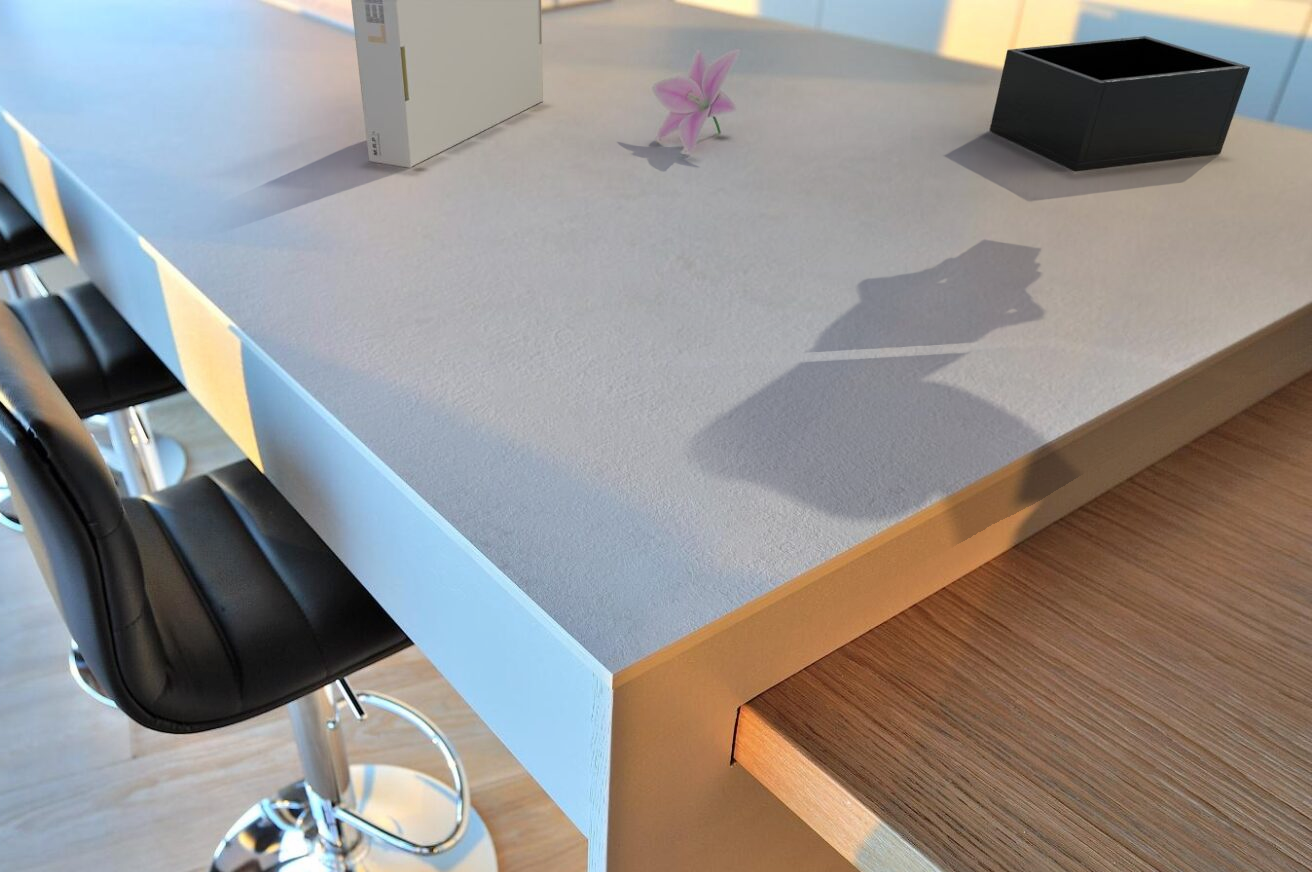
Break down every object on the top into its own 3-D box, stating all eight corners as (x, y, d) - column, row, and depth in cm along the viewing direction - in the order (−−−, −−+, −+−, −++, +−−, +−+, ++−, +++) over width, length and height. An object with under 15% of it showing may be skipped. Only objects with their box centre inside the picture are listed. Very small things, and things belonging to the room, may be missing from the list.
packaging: (504, 96, 145) (498, -73, 133) (543, 101, 142) (541, -71, 131) (367, 161, 124) (346, -33, 113) (411, 168, 122) (393, -30, 110)
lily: (650, 132, 133) (627, 68, 125) (741, 88, 131) (723, 20, 123) (678, 192, 126) (655, 128, 118) (774, 147, 124) (757, 78, 116)
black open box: (1122, 115, 128) (1145, 35, 123) (1220, 153, 116) (1250, 66, 111) (989, 130, 125) (1007, 49, 120) (1075, 171, 113) (1099, 82, 108)
